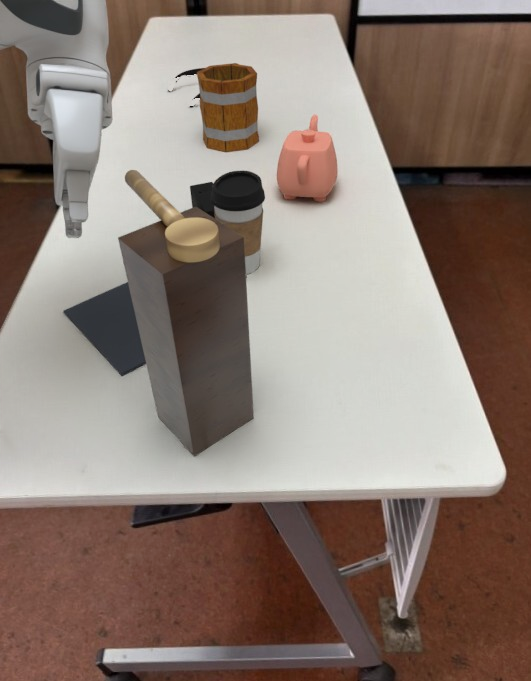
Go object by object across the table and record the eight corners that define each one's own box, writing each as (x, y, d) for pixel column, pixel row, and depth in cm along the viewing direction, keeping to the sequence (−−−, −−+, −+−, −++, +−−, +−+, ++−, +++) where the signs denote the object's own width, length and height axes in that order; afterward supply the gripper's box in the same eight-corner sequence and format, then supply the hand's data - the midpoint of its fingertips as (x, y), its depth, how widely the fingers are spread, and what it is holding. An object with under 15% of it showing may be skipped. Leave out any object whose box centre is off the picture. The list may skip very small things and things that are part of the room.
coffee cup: (275, 257, 98) (273, 174, 88) (253, 284, 92) (249, 199, 82) (231, 246, 100) (225, 165, 90) (207, 272, 95) (198, 189, 85)
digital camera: (187, 220, 107) (183, 186, 103) (215, 214, 109) (211, 180, 104) (202, 248, 100) (198, 212, 95) (232, 242, 101) (229, 206, 97)
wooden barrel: (255, 153, 129) (252, 83, 119) (196, 151, 131) (189, 82, 121) (266, 120, 144) (265, 55, 134) (213, 118, 145) (208, 55, 135)
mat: (63, 313, 87) (63, 310, 87) (132, 282, 93) (131, 279, 93) (121, 376, 77) (121, 373, 77) (195, 337, 83) (195, 334, 82)
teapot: (331, 215, 108) (335, 154, 100) (269, 211, 109) (268, 150, 101) (340, 168, 122) (344, 111, 114) (285, 165, 124) (285, 109, 116)
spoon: (110, 188, 62) (107, 173, 60) (152, 177, 63) (149, 162, 62) (181, 268, 50) (178, 251, 49) (229, 252, 52) (227, 234, 51)
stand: (157, 417, 71) (117, 237, 54) (216, 382, 76) (195, 206, 58) (194, 456, 67) (162, 274, 49) (254, 418, 71) (244, 237, 54)
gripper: (40, 133, 71) (45, 244, 72) (39, 57, 52) (46, 208, 53) (92, 137, 74) (97, 245, 74) (110, 66, 55) (116, 211, 55)
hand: (76, 229), depth 63 cm, fingers open, 8 cm apart
